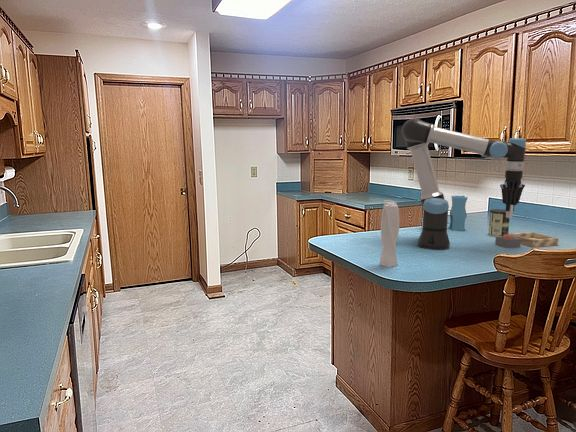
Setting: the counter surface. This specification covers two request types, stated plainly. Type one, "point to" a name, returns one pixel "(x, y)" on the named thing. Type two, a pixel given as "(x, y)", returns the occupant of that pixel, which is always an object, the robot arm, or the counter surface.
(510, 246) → the button box
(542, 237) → the woven basket tray
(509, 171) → the robot arm
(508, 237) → the button
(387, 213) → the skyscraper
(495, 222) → the coffee can
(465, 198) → the vase
